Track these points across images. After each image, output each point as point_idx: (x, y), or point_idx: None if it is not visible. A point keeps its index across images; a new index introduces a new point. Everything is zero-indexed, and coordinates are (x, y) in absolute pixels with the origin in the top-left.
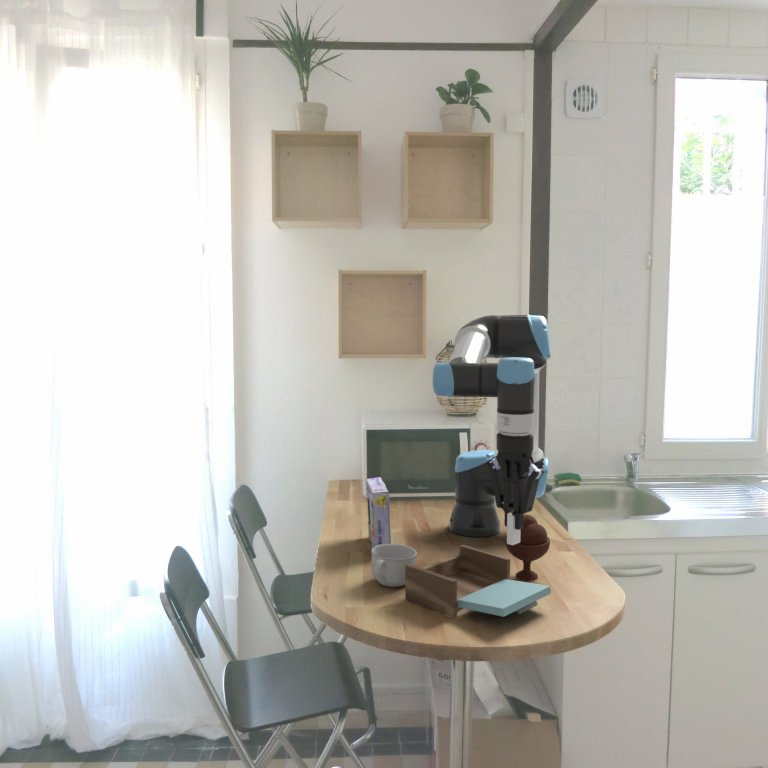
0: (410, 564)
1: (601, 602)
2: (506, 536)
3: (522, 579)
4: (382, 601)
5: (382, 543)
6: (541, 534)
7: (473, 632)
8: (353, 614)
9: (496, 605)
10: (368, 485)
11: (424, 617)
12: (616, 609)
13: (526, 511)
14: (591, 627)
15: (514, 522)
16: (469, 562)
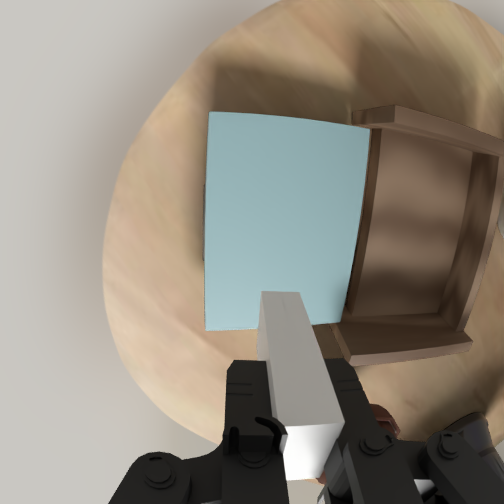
0: None
1: (161, 379)
2: (396, 430)
3: None
4: (488, 111)
5: None
6: None
7: (272, 78)
8: (482, 37)
9: (244, 126)
10: None
11: (400, 82)
12: (127, 368)
13: (134, 475)
14: (103, 278)
15: (269, 388)
16: (436, 326)
